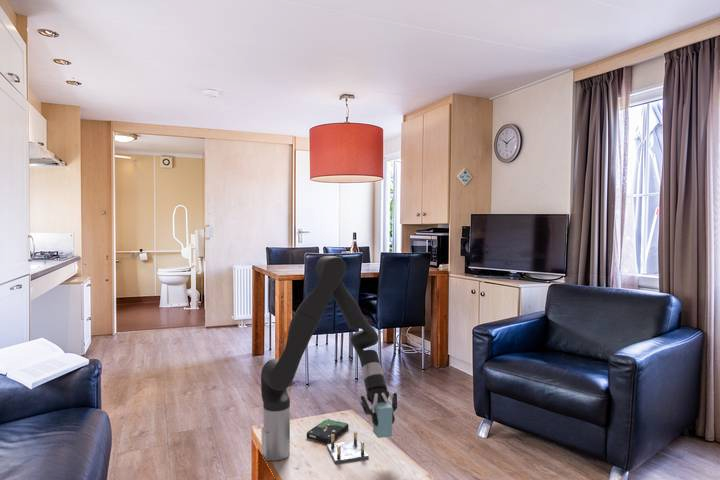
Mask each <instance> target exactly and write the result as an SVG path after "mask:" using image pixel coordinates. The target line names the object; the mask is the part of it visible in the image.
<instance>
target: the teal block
mask: <svg viewBox="0 0 720 480" xmlns="http://www.w3.org/2000/svg"><path fill="white" fill-rule="evenodd" d="M375 410H376V412H375V413H376V415H377V419H378V426H375V425H374V424H373V423H372V424H373V425H372V426H373V427H372V432H373V434H374V435H375V436H376V437H377V439H382V438H383V439H384V438H389V437H392V436H393V435H392V434H393V424H392V411H393V407H392V404H391V403H390V404H389V403H385V402H382V403H377V404H375Z"/></svg>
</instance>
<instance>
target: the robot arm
mask: <svg viewBox="0 0 720 480" xmlns="http://www.w3.org/2000/svg"><path fill="white" fill-rule="evenodd" d="M315 270H316V274H317V275H318V276H319V278H318V281H317V283H316V285H315V286H314V288H313V290H312V291H311V292H310V293H309V294H308V295H307V296H306V297H305V298H304V299H303V300H302V302H301V303H300V304H299V306H298V307H297V309H296V311H295V313H294V315H293V317H292V319H291V321H290V323H289V327H288V332H287V337H286V343H285V346H284V349H283V351H282V353H281V356H280V357H279V359H278V358H271V359H270V360H267V361H266V362H265V363H264V365H263V366H262V369H261V373H260V375H261V376H260V391H261V392H260V393H261V398H262V399H261V400H262V404H263V405H262V406H263V408H262V409H263V413H262V414H263V415H262V417H263V419H262V420H263V422H262V424H263V426H262V427H261V455H262V457H263V458H264V459H265V460H264V461H265V462H267V461H274V462H275V461H276V462H277V461H281V460H284V459H286V458H288V457H289V456H290V449H291V448H290V447H291V445H290V443H291V441H290V440H291V439H290V438H291V436H290V434H291V432H290V431H291V429H290V428H291V427H290V426H291V424H290V423H291V398H290V396H289V394H288V387H290V385H291V384H292V382H293V381H294V378H295V375H296V373H297V371H298V368H299V365H300V362H301V360H302V358H303V355H304V353H305V351H306V349H307V347H308V345H309V343H310V340H311V338H312V336H313V334H314V333H315V331H316V329H317V327H318V325H319V323H320V321H321V319H322V317H323V314H324V312H325V310H326V308H327V306H329V305H328V304H329V303H330V300H331V298H332V297H333V299H334V301H335V302H336V304H337V307H338V308H339V310H340V313H341V315H342V316H343V318H344V320H345V322H346V324H347V327H348V328H349V329H351V330H357V329H360V330H359V331H356V332H354V333H352V334H351V337H350V342H351V345H352V346H353V349H354V350H355V352H356V353H357V355H358V358H359V359H358V360H359V363H360V366H361V371H362V373H361V374H362V379H363V383H364V388H365V392H366V395H361V396H360V398H359V403H360V404H361V407H362V410H363V412H364V414H365V415H368V416H369V415H370V416H371V422H372V424H374V425H375V426H378V419H377V415H376V413H375V412H376V410H375V404H377V403H382V402H385V403H389V404H390V405H391V406H392V407H393V411H392V425H393V424H394V423H395V421H396V420H395V419H396V418H395V414H394V413H396V411H397V409H398V393H397V392H394V393H391V392H389V391H388V387H387V383H386V379H385V375H384V372H383V368H382V367H381V366H382V365H381V361H380V358H379V354H378V352H377V351H376V350H374V349H369V348H371V347H373V346H375V345H377V344H378V343H379V335H378V332H377V331H376V330H375V328H374V327H373V326H372V324H370V323H369V321H367V319H366V318H365V316H364V314H363V312H362V310H361V308H360V305H359V304H358V302H357V301H356V300H355V298H354V296H353V295H352V294H351V293H350V291H348V290H349V289H348V288H346V285H345V284H344V282H343V278H344V277H345V275H346V272H347V264H346V261H345V260H344V259H343V258H342V257H339V256H334V255H326V256H325V255H324V256H322V257H319V259H318V260H317V262H316V265H315ZM367 348H368V349H367ZM389 398H390V400H391V402H390V401H389ZM368 402H370V403H371V405H370V406H369V404H368Z"/></svg>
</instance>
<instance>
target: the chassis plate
mask: <svg viewBox="0 0 720 480" xmlns="http://www.w3.org/2000/svg"><path fill="white" fill-rule="evenodd" d="M334 436H335V435H334V434H332V435H331V443H330V444H327V445H326V448H327V450H328V452H329V454H330V455H331V458H332V460H333V462H334V464H340V463H348V462H354V461H360V460H368V459H369V458H370V457H369V456H370V455H369V454H368V452H367V451H366V449H365V442H364V441H361V442H360V441H359V440H358V431H353V440H349V441H342V442H335V440H334Z"/></svg>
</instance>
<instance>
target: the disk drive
mask: <svg viewBox="0 0 720 480" xmlns="http://www.w3.org/2000/svg"><path fill="white" fill-rule="evenodd" d="M348 430H349V423H347V422H342V421H338V420H334V419H333V420H332V419H330V418H327V419H325V420H323V421H322V422H320V423H318V424H317V425H316V426H314V427H313V428H311V429H309V430H308V431H306V439H308V438H309V439H310V440H312V441H315V442H319V443H323V444H331V435H332V434H334V435H335V436H334V441H335V440H337V439H338V438H339V437H340V436H342V435H343V434H344V433H346V432H347V431H348Z"/></svg>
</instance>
